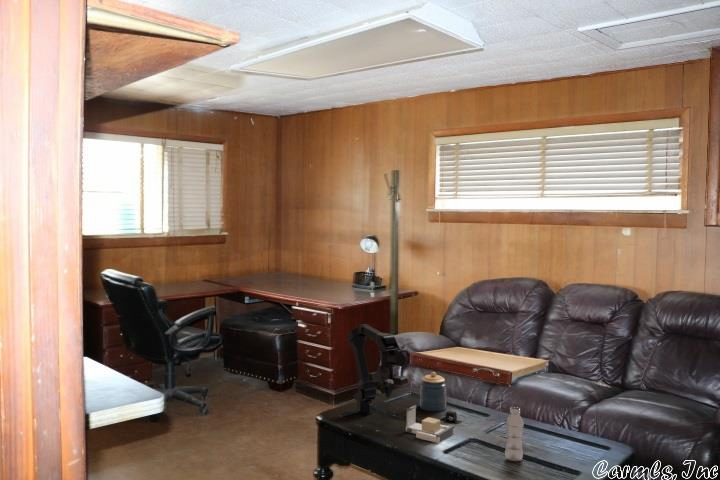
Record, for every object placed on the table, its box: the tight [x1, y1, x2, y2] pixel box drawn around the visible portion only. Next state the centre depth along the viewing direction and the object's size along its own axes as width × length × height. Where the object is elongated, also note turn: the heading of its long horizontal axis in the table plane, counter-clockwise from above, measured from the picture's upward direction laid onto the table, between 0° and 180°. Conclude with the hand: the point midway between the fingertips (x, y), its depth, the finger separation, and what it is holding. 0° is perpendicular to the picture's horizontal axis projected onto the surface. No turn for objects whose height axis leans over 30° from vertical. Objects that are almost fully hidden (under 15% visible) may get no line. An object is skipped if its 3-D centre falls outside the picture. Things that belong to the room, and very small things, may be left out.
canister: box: [419, 371, 448, 412], centre depth 293 cm, size 13×13×18 cm
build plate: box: [439, 410, 464, 425], centre depth 274 cm, size 12×7×5 cm, turn 51°
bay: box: [415, 424, 455, 444], centre depth 255 cm, size 10×14×3 cm
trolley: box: [405, 404, 445, 436], centre depth 258 cm, size 16×9×10 cm, turn 55°
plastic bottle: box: [504, 406, 525, 462], centre depth 229 cm, size 6×7×20 cm
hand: (388, 397), depth 269 cm, fingers closed
